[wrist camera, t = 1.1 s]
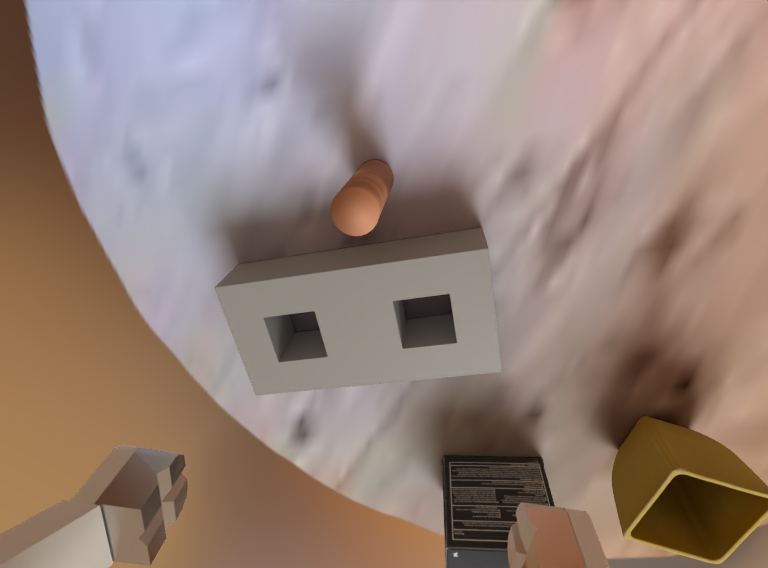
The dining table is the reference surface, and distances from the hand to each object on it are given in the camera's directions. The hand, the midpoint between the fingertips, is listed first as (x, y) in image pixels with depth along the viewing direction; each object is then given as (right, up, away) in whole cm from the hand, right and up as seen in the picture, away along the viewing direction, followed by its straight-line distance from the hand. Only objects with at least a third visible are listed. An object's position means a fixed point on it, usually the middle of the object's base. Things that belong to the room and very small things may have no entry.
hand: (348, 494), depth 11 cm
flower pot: (+27, -10, +34) cm, 45 cm away
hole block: (-1, +3, +30) cm, 31 cm away
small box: (+13, -16, +38) cm, 43 cm away
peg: (0, +14, +26) cm, 29 cm away
